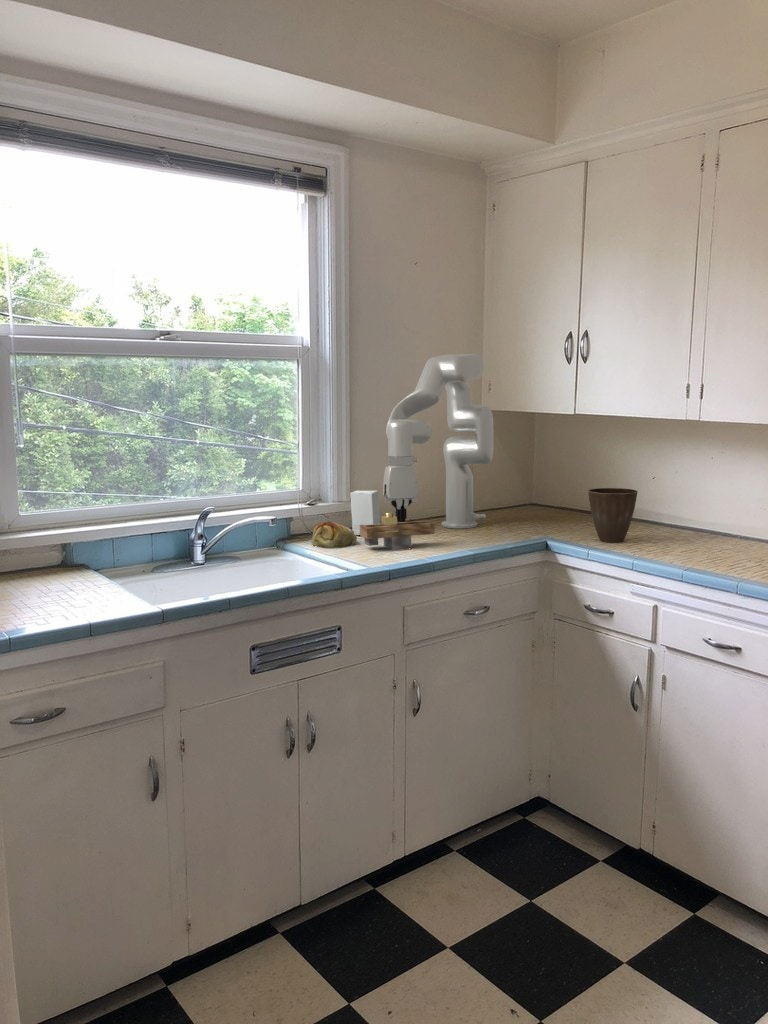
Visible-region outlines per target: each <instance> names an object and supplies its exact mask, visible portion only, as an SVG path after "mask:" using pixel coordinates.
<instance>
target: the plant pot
mask: <svg viewBox="0 0 768 1024" xmlns="http://www.w3.org/2000/svg"><path fill="white" fill-rule="evenodd" d="M587 491H588V501H589V507H590V512H591V517H592V521H593V525H594V528H595V531H596V534H597V537H598V539H599V541H600V542H604V543H609V544H610V543H612V544H614V543H617V544H618V543H623V542H624V541H625V539H626V537H627V534H628V531H629V529H630V525H631V522H632V519H633V516H634V511H635V507H636V504H637V502H636V501H637V497H638V492H639V491H638V490H636V489H631V488H617V487H613V488H612V487H606V488H605V487H600V488H591V489H590V488H589V489H588V490H587Z"/></svg>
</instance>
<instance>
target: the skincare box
mask: <svg viewBox="0 0 768 1024" xmlns="http://www.w3.org/2000/svg"><path fill="white" fill-rule="evenodd" d="M349 497H350V511H351V527H352V529H351V531H354V534H355V535H360V525H372V524H381V516H380V513H381V512H380V498H379V497H380V495H379V490H374V489H373V490H354V491H352V492H350V496H349Z"/></svg>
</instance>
